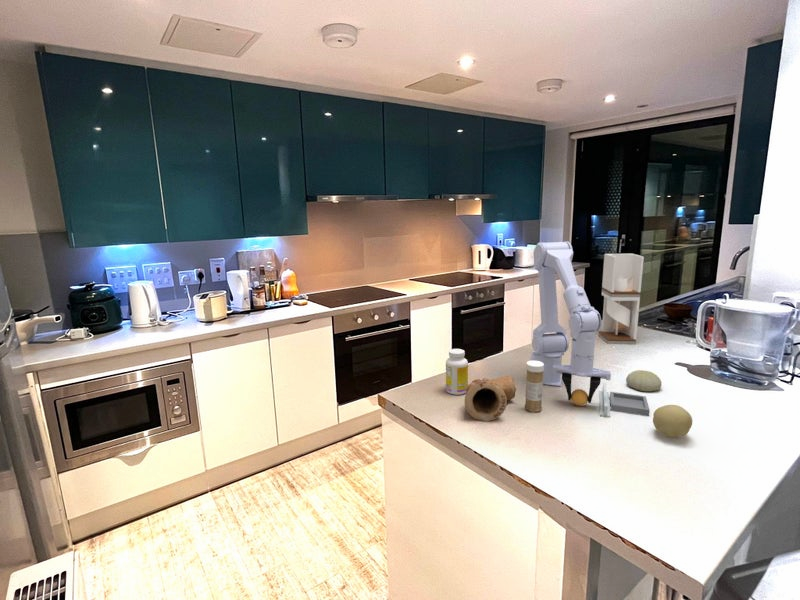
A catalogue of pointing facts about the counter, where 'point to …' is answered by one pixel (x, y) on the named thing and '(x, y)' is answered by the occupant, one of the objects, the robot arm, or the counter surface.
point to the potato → (672, 421)
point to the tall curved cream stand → (621, 297)
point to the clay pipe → (489, 397)
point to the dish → (629, 403)
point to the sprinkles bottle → (534, 386)
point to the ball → (579, 397)
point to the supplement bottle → (456, 372)
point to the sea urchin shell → (643, 380)
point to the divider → (604, 402)
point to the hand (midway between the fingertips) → (579, 400)
